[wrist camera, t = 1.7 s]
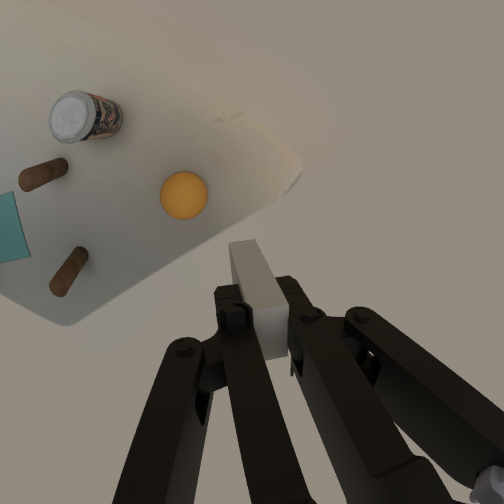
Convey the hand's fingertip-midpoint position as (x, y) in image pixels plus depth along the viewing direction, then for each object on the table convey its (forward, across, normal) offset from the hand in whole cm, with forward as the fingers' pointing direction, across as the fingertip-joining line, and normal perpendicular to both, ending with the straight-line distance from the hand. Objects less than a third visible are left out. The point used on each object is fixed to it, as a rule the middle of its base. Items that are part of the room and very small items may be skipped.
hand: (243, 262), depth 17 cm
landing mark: (+20, -34, 0) cm, 40 cm away
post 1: (+20, -20, +6) cm, 29 cm away
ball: (+18, -4, 0) cm, 18 cm away
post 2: (+20, -20, -6) cm, 29 cm away
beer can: (+21, -13, +11) cm, 27 cm away
